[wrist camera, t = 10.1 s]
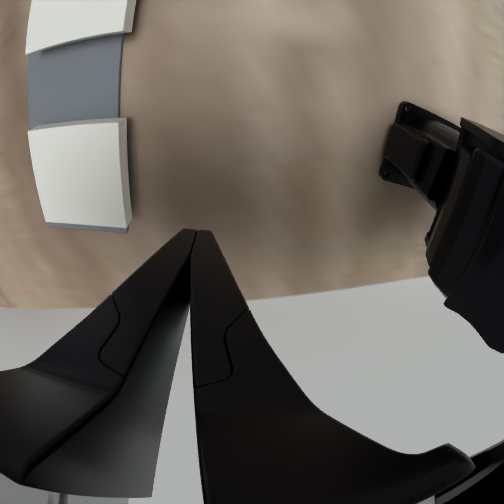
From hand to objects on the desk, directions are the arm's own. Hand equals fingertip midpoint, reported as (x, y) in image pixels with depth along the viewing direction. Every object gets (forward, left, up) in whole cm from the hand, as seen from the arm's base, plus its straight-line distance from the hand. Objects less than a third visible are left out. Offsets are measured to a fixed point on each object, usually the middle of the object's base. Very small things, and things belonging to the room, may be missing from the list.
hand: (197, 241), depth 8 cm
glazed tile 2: (+7, +3, -11) cm, 13 cm away
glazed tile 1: (+7, -11, -11) cm, 17 cm away
